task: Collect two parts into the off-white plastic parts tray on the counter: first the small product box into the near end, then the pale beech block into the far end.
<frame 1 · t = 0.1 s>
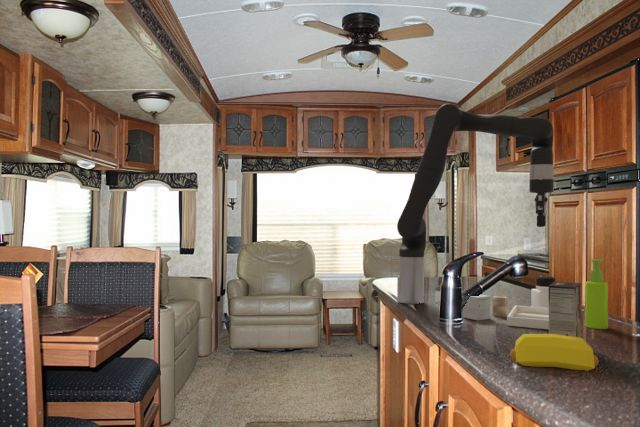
hand: (541, 226, 171), 29 cm above the worktop, fingers open, 8 cm apart
soap dispenser: (596, 327, 151), on the worktop
medicine bottle: (545, 311, 175), on the worktop
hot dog: (553, 366, 111), on the worktop
beech block: (499, 315, 168), on the worktop
product box: (476, 318, 162), on the worktop
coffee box: (564, 350, 125), on the worktop
tray: (531, 320, 159), on the worktop
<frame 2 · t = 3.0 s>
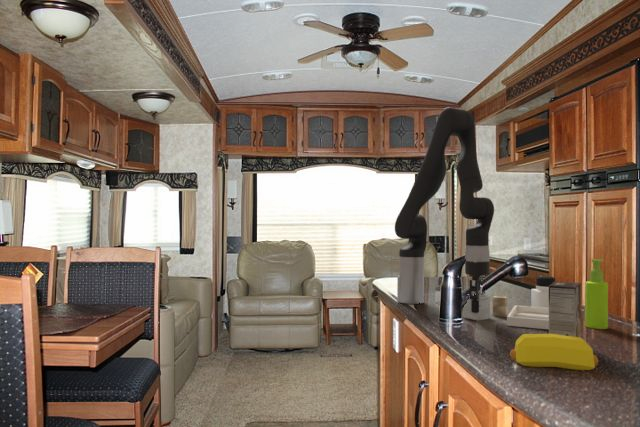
hand: (477, 310, 162), 2 cm above the worktop, fingers open, 8 cm apart
nothing on the worktop moved.
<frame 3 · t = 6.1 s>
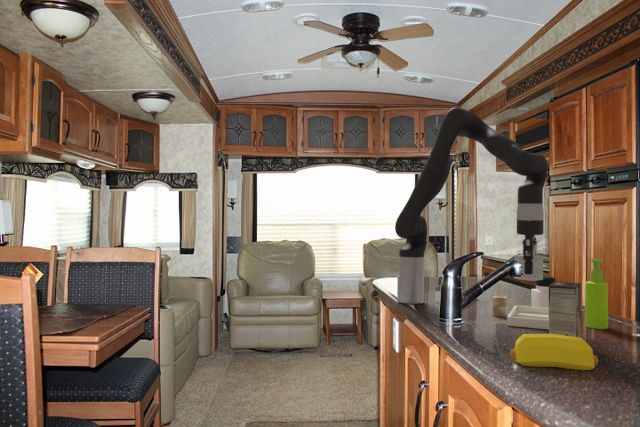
hand: (529, 272, 154), 16 cm above the worktop, fingers closed on product box, 8 cm apart
product box: (528, 280, 154), point 13 cm above the worktop, touching gripper
everything else where it was.
when the fingers open (4 cm above the worktop, at t = 8.9 s): product box drops 1 cm, resting on tray.
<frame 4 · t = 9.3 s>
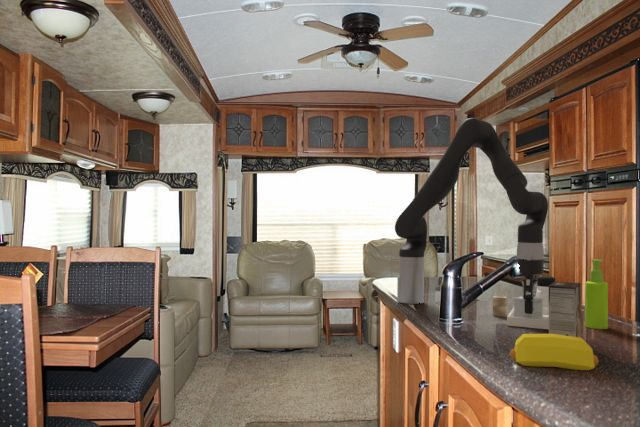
hand: (529, 311, 153), 4 cm above the worktop, fingers open, 8 cm apart
product box: (528, 322, 154), resting on tray
everything else where it was.
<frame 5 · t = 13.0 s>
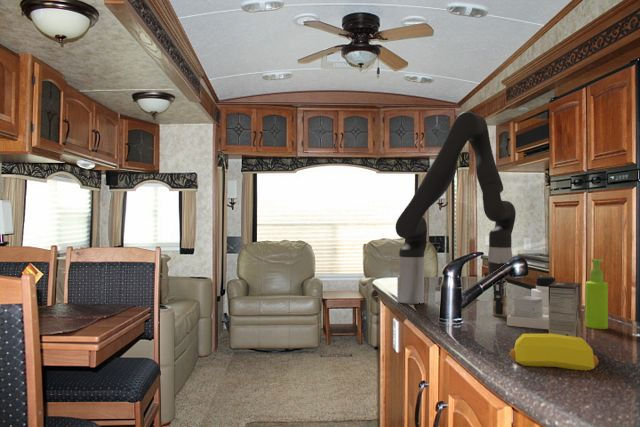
hand: (500, 312, 168), 1 cm above the worktop, fingers closed on beech block, 4 cm apart
beech block: (500, 315, 168), on the worktop, touching gripper
everything else where it was.
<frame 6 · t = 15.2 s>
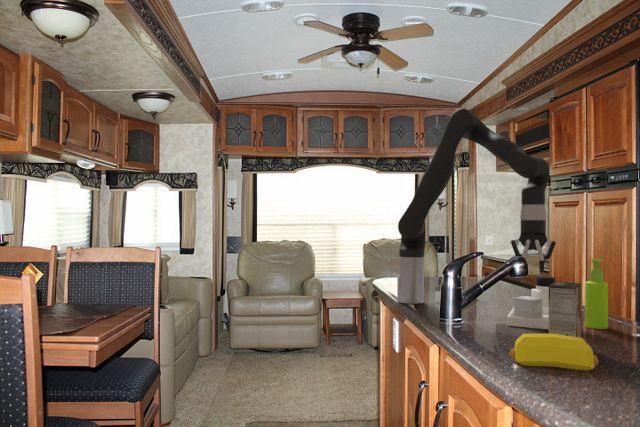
hand: (533, 271, 164), 15 cm above the worktop, fingers closed on beech block, 4 cm apart
beech block: (533, 274, 164), point 14 cm above the worktop, touching gripper
everything else where it was.
when the fingers open (3 cm above the worktop, at t = 17.6 s): beech block drops 1 cm, resting on tray.
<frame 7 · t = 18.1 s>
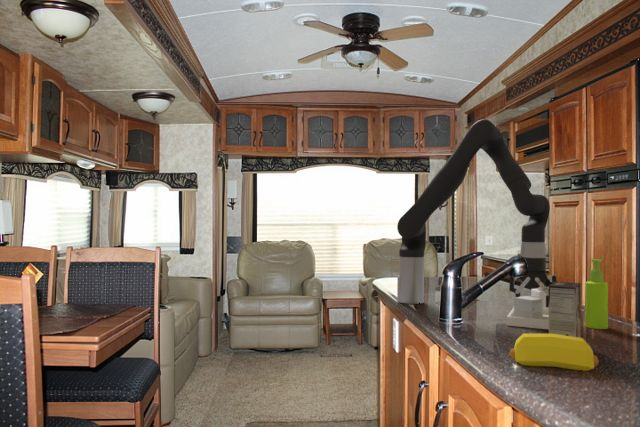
hand: (532, 306, 164), 4 cm above the worktop, fingers open, 8 cm apart
beech block: (532, 315, 164), point 1 cm above the worktop, touching tray
everything else where it was.
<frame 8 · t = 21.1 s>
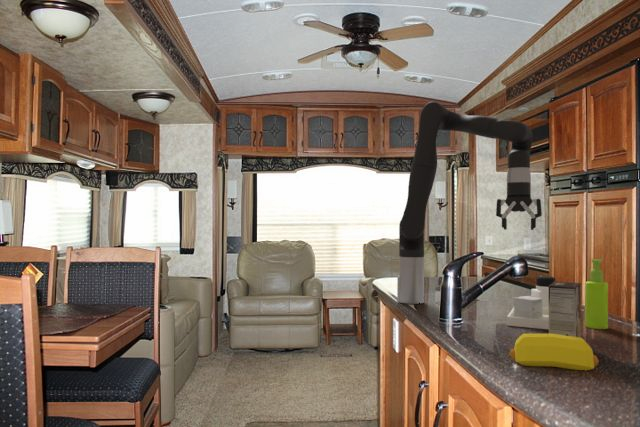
hand: (518, 229, 172), 28 cm above the worktop, fingers open, 8 cm apart
nothing on the worktop moved.
at the end: product box inside the target area on the tray (5.7 cm from its centre), point 0.4 cm above the tray's base; beech block inside the target area on the tray (6.0 cm from its centre), point 0.6 cm above the tray's base; beech block tilted 0° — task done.
